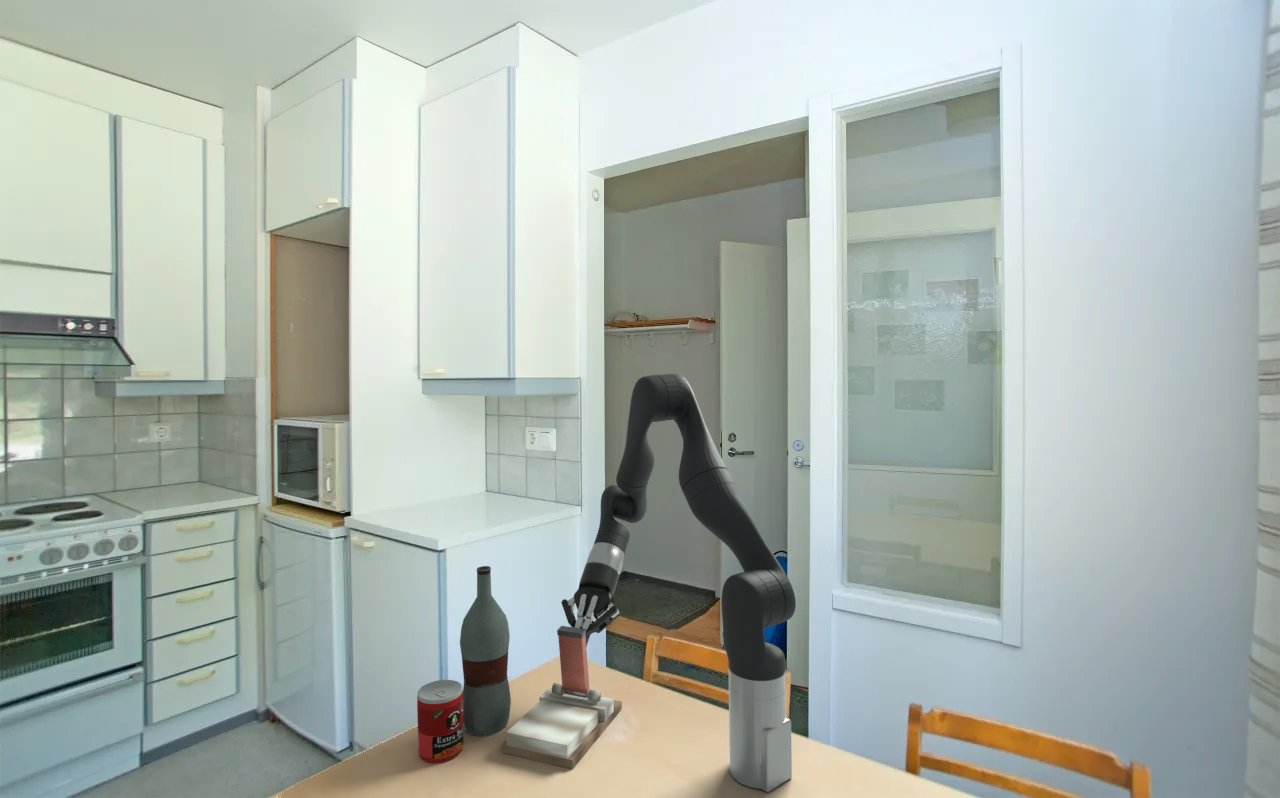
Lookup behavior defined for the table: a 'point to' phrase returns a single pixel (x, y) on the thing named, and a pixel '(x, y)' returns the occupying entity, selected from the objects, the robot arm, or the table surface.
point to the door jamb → (561, 727)
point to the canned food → (440, 720)
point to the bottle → (485, 662)
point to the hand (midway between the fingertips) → (576, 650)
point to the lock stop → (573, 661)
